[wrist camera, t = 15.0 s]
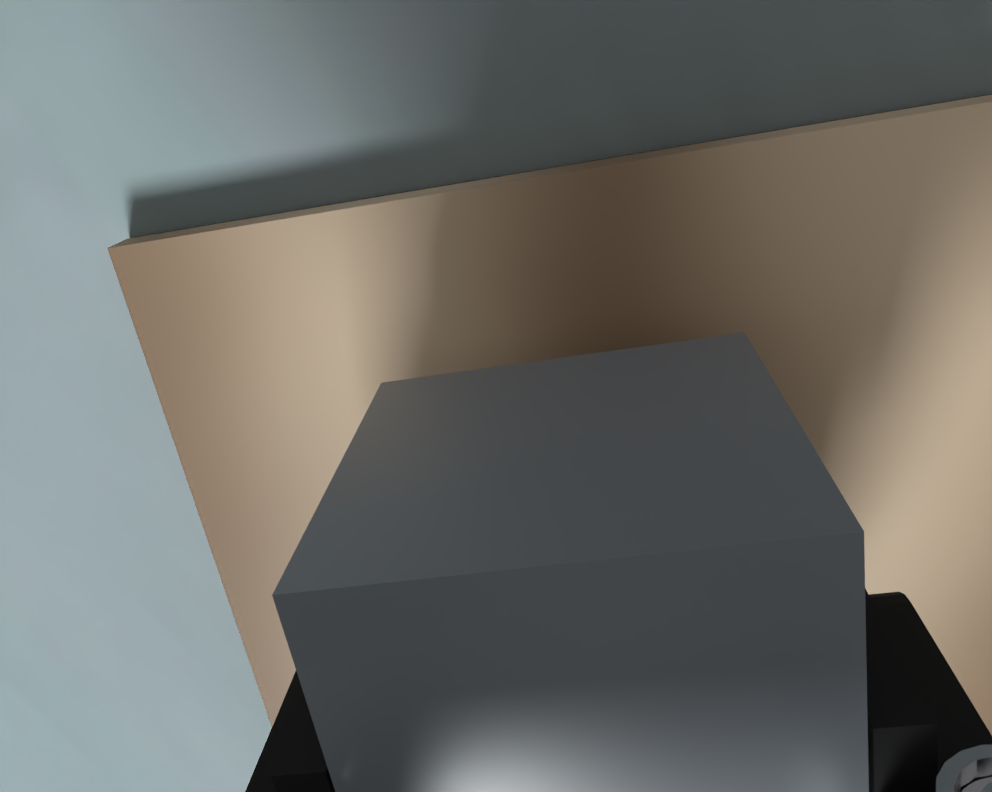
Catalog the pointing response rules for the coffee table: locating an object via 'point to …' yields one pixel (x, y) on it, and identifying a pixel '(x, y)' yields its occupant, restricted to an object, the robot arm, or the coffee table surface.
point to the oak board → (610, 332)
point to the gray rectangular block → (584, 585)
